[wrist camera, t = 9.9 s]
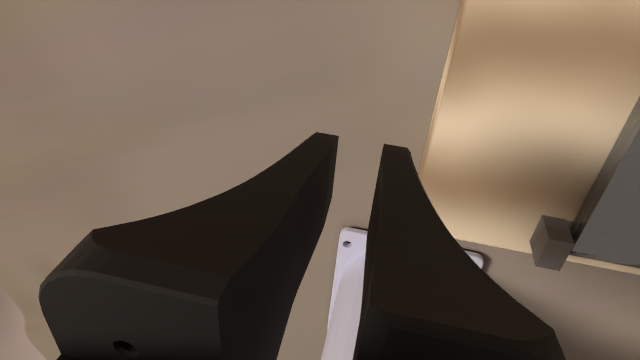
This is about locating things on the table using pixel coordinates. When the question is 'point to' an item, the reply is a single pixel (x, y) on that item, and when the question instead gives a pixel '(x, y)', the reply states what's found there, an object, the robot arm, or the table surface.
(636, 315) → the table surface
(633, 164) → the gray rectangular block
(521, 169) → the board
